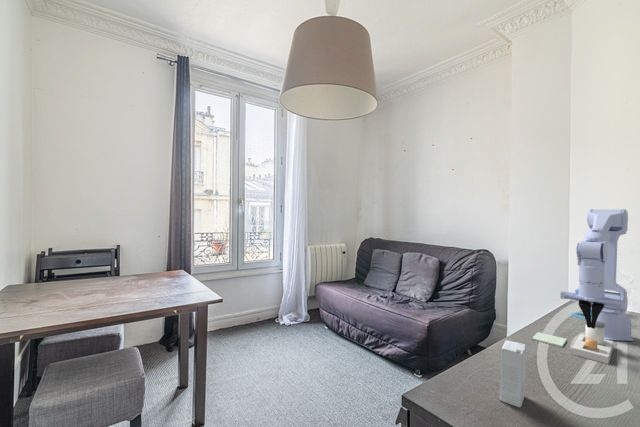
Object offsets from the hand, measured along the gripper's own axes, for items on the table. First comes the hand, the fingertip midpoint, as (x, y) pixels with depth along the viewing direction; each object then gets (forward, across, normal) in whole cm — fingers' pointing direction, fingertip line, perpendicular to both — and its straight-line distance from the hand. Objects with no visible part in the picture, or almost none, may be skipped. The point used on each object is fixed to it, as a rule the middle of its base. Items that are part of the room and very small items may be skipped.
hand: (591, 327), depth 91 cm
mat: (+8, -11, +4) cm, 14 cm away
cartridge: (+8, 0, +8) cm, 12 cm away
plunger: (+6, 0, 0) cm, 6 cm away
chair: (+9, -5, +45) cm, 46 cm away
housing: (+8, 0, +4) cm, 10 cm away
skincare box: (+9, -9, -42) cm, 44 cm away
